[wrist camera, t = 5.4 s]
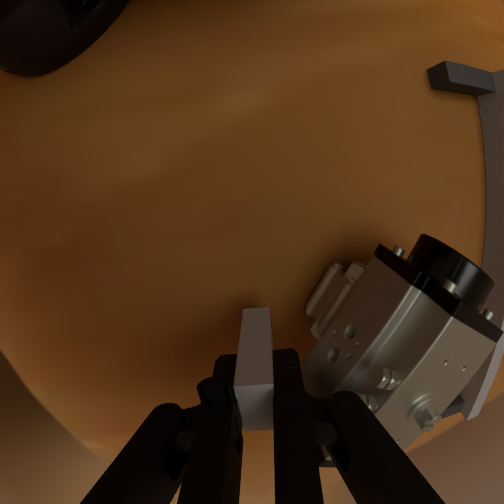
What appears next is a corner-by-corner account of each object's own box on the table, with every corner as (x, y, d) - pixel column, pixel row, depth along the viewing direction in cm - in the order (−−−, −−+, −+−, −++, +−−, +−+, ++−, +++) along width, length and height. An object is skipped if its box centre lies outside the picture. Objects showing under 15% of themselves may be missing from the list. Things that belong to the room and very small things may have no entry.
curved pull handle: (427, 69, 15) (457, 54, 11) (507, 87, 14) (537, 82, 11) (413, 409, 23) (427, 436, 19) (482, 384, 23) (498, 405, 19)
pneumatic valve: (403, 232, 19) (537, 315, 7) (318, 363, 22) (374, 494, 10) (343, 193, 17) (496, 265, 6) (255, 344, 20) (287, 500, 9)
